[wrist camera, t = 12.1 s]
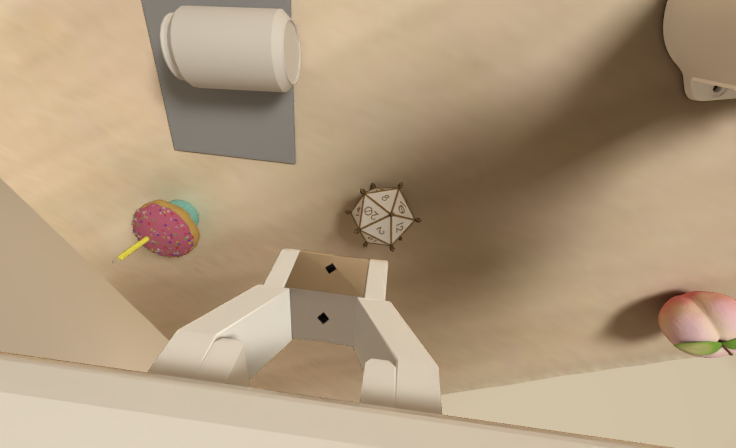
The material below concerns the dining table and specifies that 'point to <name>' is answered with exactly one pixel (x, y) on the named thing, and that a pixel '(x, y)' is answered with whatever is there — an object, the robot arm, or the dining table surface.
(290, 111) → the mat
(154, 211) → the cupcake
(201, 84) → the can
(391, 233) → the game die
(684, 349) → the decorative fruit
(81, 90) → the dining table surface
